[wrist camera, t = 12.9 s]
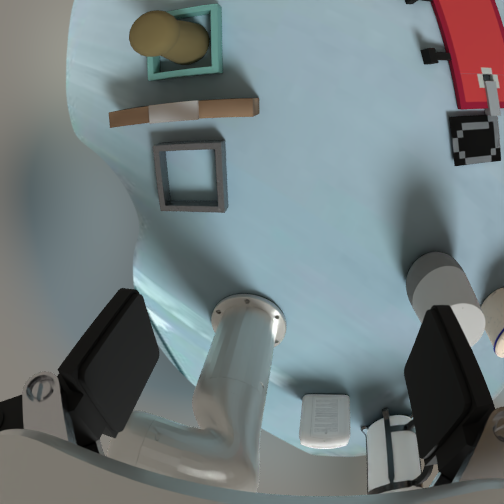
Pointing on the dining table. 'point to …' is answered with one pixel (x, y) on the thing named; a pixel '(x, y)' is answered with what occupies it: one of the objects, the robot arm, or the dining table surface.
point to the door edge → (185, 111)
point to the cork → (169, 38)
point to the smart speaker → (445, 292)
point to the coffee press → (393, 455)
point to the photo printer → (325, 421)
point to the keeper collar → (164, 183)
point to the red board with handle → (472, 73)
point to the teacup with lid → (495, 320)
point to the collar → (216, 45)
